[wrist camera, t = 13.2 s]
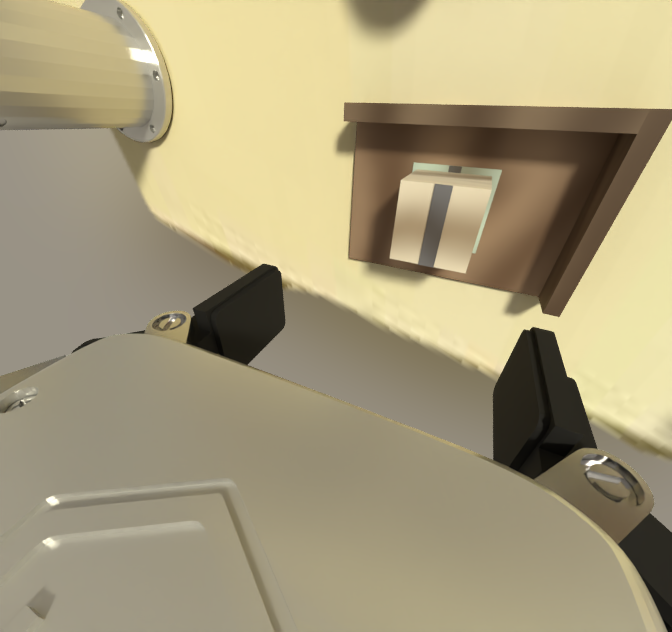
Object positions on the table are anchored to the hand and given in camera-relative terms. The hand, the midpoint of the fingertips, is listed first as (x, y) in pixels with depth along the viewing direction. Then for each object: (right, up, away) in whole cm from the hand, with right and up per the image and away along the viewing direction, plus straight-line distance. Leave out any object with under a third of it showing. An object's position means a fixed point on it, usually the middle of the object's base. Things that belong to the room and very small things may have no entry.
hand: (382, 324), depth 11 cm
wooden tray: (+9, +10, +15) cm, 20 cm away
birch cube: (+8, +10, +15) cm, 19 cm away
